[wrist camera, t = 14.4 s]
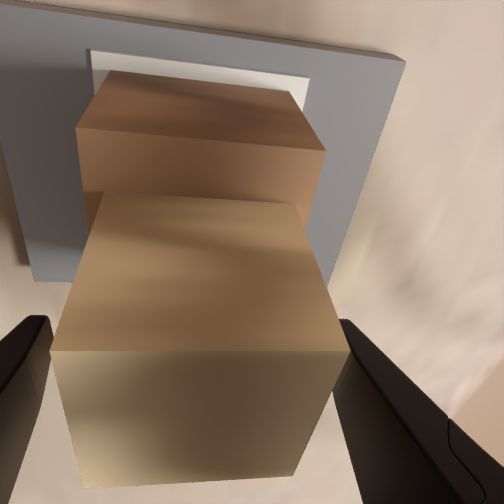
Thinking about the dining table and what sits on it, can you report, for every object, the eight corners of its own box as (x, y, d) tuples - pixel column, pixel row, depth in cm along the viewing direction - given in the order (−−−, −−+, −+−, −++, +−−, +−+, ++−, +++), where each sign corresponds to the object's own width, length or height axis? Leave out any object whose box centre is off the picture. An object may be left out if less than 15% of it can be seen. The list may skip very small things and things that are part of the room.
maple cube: (115, 324, 13) (84, 488, 9) (104, 191, 10) (49, 350, 6) (264, 326, 14) (292, 476, 10) (294, 203, 11) (350, 350, 7)
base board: (40, 267, 19) (33, 284, 18) (-22, -6, 12) (-39, 0, 11) (321, 276, 21) (327, 292, 21) (395, 55, 15) (408, 63, 14)
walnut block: (122, 260, 18) (103, 351, 14) (110, 70, 13) (75, 127, 9) (255, 265, 19) (271, 351, 15) (289, 91, 14) (326, 150, 10)
